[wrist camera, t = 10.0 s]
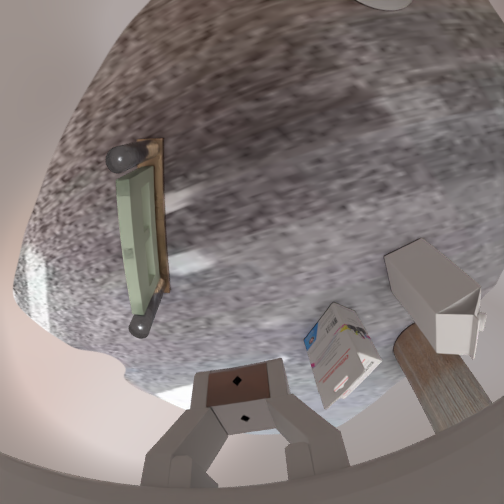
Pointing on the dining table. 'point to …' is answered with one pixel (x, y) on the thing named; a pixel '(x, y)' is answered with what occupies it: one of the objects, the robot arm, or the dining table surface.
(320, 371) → the ink box
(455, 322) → the milk carton
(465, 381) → the planter
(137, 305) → the gate
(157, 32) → the dining table surface
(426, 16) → the dining table surface
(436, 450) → the robot arm
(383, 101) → the dining table surface
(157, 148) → the drawknife
